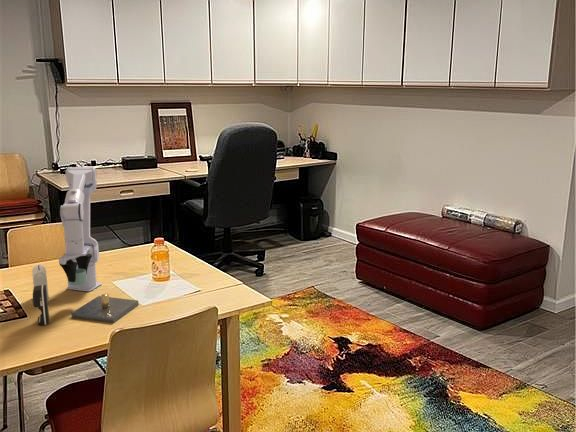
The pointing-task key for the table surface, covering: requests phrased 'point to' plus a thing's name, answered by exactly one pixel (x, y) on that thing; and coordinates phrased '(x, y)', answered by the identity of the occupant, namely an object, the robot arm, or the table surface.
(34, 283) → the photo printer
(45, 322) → the battery charger
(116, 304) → the hub plate
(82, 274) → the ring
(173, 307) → the table surface
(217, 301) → the table surface
